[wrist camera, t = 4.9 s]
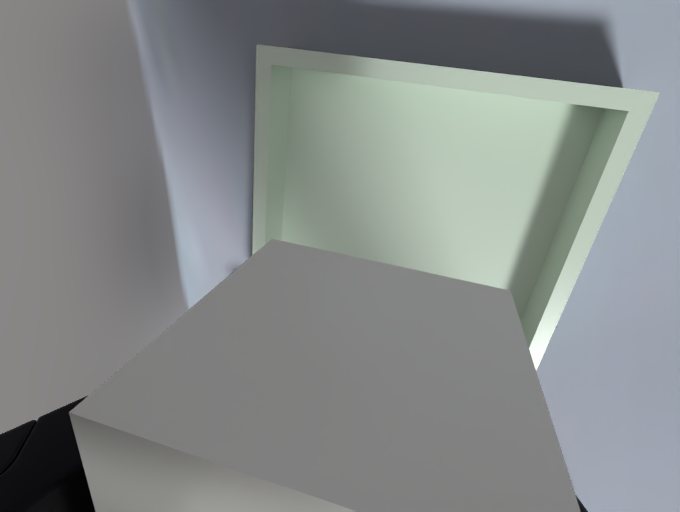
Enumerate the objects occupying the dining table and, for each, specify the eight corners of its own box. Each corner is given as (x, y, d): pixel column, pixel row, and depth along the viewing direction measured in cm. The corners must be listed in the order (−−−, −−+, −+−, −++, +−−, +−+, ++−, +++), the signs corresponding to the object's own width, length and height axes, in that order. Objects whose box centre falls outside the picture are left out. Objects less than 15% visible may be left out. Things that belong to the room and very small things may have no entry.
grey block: (510, 290, 7) (608, 597, 3) (448, 460, 9) (450, 786, 5) (272, 238, 7) (69, 413, 3) (264, 404, 9) (130, 638, 5)
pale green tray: (624, 92, 13) (659, 92, 11) (516, 355, 19) (526, 392, 16) (283, 50, 16) (256, 44, 13) (271, 295, 21) (250, 319, 19)
